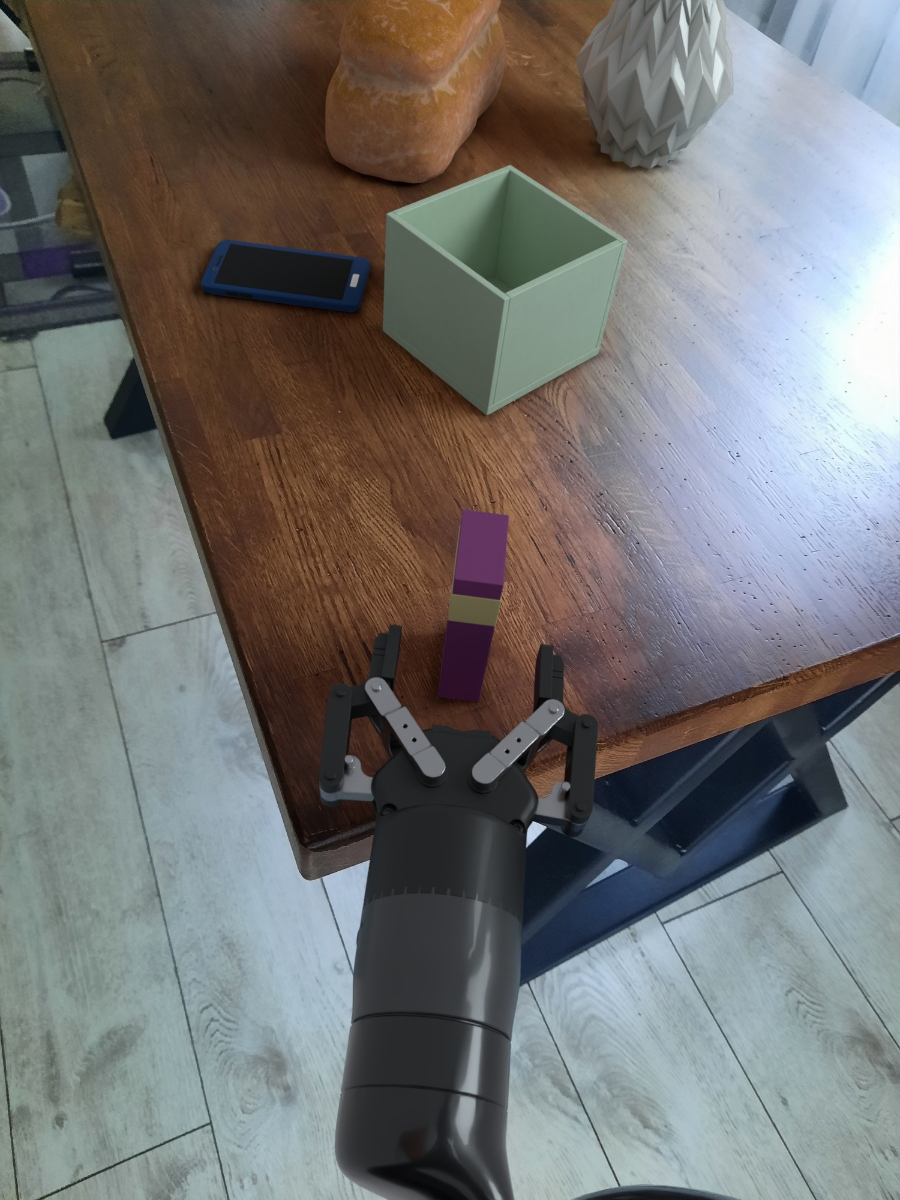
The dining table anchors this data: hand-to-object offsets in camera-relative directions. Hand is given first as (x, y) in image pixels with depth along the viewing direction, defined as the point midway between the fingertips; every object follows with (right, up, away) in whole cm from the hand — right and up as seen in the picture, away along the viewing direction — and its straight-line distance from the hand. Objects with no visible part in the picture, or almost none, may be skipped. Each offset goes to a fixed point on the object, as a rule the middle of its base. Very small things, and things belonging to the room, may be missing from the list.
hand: (469, 642), depth 53 cm
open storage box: (+2, +24, +27) cm, 36 cm away
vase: (+19, +52, +49) cm, 74 cm away
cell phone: (-16, +31, +30) cm, 46 cm away
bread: (-5, +54, +48) cm, 73 cm away
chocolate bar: (0, -2, +7) cm, 7 cm away
